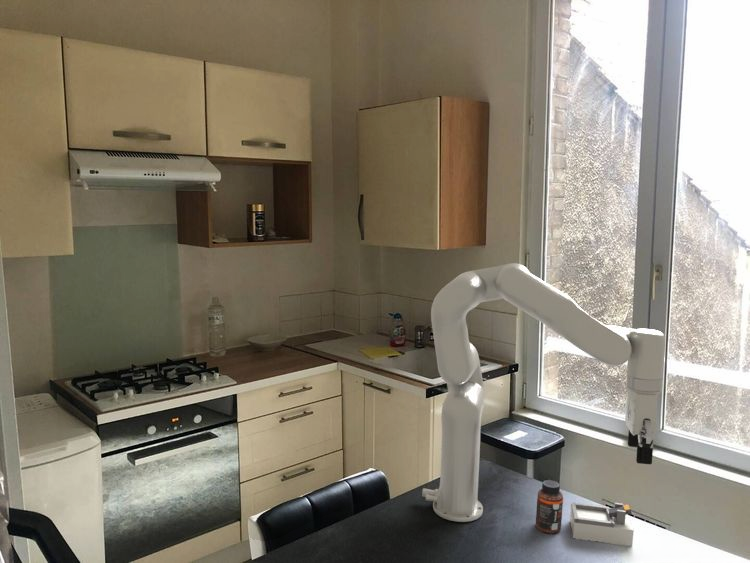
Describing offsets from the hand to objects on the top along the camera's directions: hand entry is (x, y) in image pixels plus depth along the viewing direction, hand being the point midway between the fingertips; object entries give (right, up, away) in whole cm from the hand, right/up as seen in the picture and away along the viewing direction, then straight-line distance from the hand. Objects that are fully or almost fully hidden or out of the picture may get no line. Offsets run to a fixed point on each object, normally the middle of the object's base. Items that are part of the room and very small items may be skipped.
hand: (639, 454), depth 143 cm
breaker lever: (-4, -14, +2) cm, 15 cm away
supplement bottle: (-20, -20, +6) cm, 28 cm away
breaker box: (-8, -20, +4) cm, 22 cm away
